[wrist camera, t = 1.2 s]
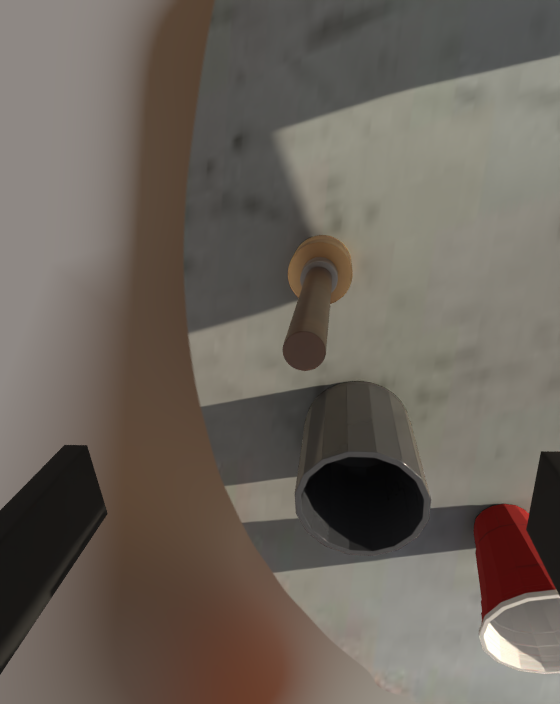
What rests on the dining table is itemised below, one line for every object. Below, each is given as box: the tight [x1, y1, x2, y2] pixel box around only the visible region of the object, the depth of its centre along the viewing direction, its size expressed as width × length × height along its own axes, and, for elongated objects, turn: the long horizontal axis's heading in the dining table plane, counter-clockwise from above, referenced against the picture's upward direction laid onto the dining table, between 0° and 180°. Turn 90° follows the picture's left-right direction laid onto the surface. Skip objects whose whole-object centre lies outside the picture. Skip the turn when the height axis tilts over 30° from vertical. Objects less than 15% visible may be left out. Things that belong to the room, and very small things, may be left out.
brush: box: [283, 235, 352, 371], centre depth 28 cm, size 5×5×18 cm
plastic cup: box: [474, 504, 560, 674], centre depth 40 cm, size 11×11×12 cm
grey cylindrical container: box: [295, 381, 431, 556], centre depth 38 cm, size 10×10×11 cm
